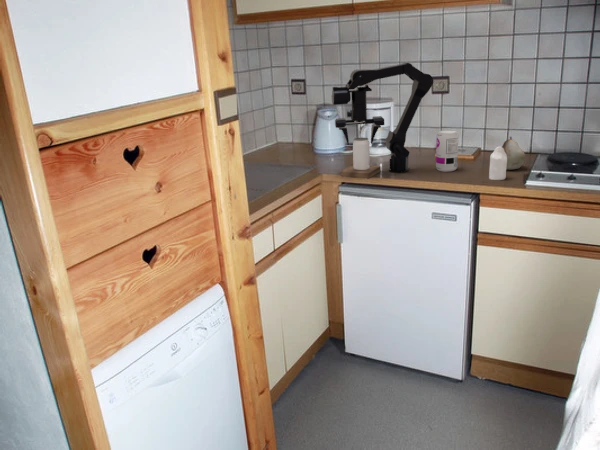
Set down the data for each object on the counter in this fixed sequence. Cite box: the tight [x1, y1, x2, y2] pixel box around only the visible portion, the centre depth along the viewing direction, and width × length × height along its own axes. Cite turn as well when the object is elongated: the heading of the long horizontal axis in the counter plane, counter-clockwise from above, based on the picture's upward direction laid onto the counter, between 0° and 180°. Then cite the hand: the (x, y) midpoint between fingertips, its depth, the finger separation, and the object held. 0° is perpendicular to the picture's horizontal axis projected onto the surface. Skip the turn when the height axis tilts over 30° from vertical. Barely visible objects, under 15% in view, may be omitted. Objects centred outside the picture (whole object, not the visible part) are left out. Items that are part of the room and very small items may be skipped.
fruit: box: [501, 136, 526, 171], centre depth 210 cm, size 10×9×12 cm
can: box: [352, 137, 371, 171], centre depth 215 cm, size 6×6×12 cm
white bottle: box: [488, 145, 507, 181], centre depth 198 cm, size 6×12×6 cm
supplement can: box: [435, 129, 459, 173], centre depth 214 cm, size 8×8×15 cm
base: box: [340, 164, 381, 179], centre depth 218 cm, size 12×12×2 cm
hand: (359, 143), depth 214 cm, fingers open, 9 cm apart
